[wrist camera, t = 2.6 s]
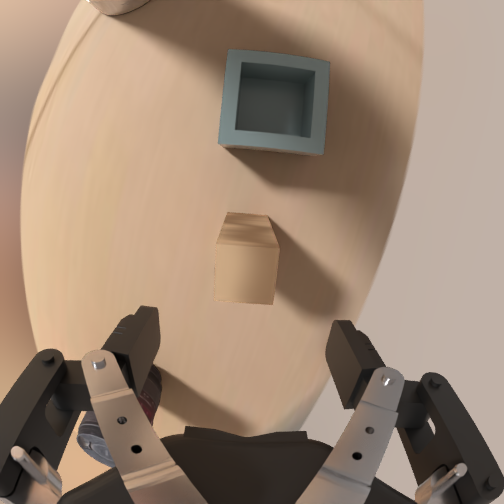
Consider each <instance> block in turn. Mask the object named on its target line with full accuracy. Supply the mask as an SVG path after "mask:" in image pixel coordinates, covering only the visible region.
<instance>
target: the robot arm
mask: <svg viewBox="0 0 504 504" xmlns="http://www.w3.org/2000/svg"><path fill="white" fill-rule="evenodd" d="M87 1H88V2H90V3H91V4H92V5H93V6H94V7H95V8H96V9H98V10H99V11H100V12H101V13H103V14H106V15H119V14H124V13H127V12H130V11H132V10H134V9H137V8H138V7H140V6H142V5H144V4H145V3H147V2H148V1H149V0H87ZM159 346H160V326H159V314H158V309H157V307H149V306H140V307H139V309H138V310H137V312H136V313H135V315H128V316H126V317H125V318H123V319H122V320H121V321H120V322H119V324H118V325H117V327H116V328H115V329H114V331H113V333H112V334H111V335H110V337H109V338H108V339H107V341H106V342H105V344H104V345H103V347H102V348H101V350H94V351H91V352H89V353H87V354H86V355H85V356H84V357H83V358H82V360H81V361H74V360H64V357H63V354H62V353H61V352H60V351H59V350H56V349H45V350H42V351H40V352H39V353H38V354H36V356H35V357H34V358H33V359H32V361H31V362H30V363H29V365H28V366H27V367H26V369H25V370H24V371H23V373H22V374H21V375H20V377H19V378H18V379H17V381H16V382H15V384H14V385H13V387H12V388H11V390H10V391H9V392H8V394H7V395H6V397H5V398H4V400H3V401H2V403H1V404H0V500H1V501H3V502H4V503H5V504H489V503H491V502H492V501H494V500H495V499H496V498H497V497H499V496H500V494H501V493H502V492H503V489H504V477H503V474H502V472H501V470H500V468H499V466H498V464H497V462H496V460H495V459H494V457H493V455H492V453H491V451H490V449H489V447H488V446H487V444H486V442H485V440H484V438H483V437H482V435H481V433H480V432H479V430H478V428H477V426H476V425H475V423H474V421H473V420H472V418H471V417H470V415H469V413H468V412H467V410H466V409H465V407H464V405H463V404H462V402H461V401H460V399H459V398H458V396H457V395H456V393H455V392H454V390H453V388H452V387H451V385H450V384H449V383H448V381H447V380H446V379H445V378H444V377H443V376H442V375H440V374H437V373H432V372H429V373H426V374H424V375H423V376H422V378H421V380H420V382H418V381H408V380H404V377H403V375H402V374H401V373H400V372H399V371H397V370H395V369H393V368H390V367H386V366H385V364H384V362H383V361H382V359H381V357H380V356H379V354H378V353H377V351H376V350H375V348H374V346H373V345H372V343H371V341H370V340H369V338H368V337H367V336H366V335H365V334H364V333H362V332H361V331H359V330H358V331H357V330H356V329H355V327H354V325H353V324H352V322H351V321H350V320H335V321H334V322H333V324H332V327H331V331H330V335H329V339H328V342H327V346H326V352H325V355H326V361H327V363H328V366H329V369H330V371H331V374H332V377H333V379H334V382H335V385H336V388H337V390H338V393H339V396H340V399H341V402H342V405H343V407H344V409H353V408H354V410H355V412H354V414H353V415H352V417H351V419H350V421H349V423H348V425H347V426H346V428H345V430H344V432H343V433H342V435H341V437H340V439H339V440H338V442H337V444H336V446H335V447H334V448H333V447H331V446H330V445H327V444H325V443H323V442H320V441H316V440H312V439H308V438H307V432H306V431H292V432H274V433H269V434H264V435H259V436H253V437H242V436H238V435H234V434H230V433H227V432H223V431H219V430H216V429H207V428H198V427H190V426H185V432H184V434H177V435H171V436H167V437H164V438H161V439H159V437H158V436H157V434H156V432H155V431H154V429H153V427H152V425H151V424H150V422H149V420H148V418H147V417H146V415H145V413H144V411H143V409H142V408H141V406H140V404H139V402H138V400H137V398H136V397H138V398H139V396H140V393H141V391H142V388H143V386H144V383H145V381H146V378H147V376H148V373H149V371H150V368H151V366H152V364H153V361H154V359H155V356H156V354H157V352H158V349H159ZM49 400H50V401H49ZM81 411H94V413H95V415H96V418H97V421H98V424H99V427H100V429H101V432H102V434H103V437H104V439H105V442H106V444H107V447H108V449H109V451H110V454H111V456H112V458H113V460H114V463H115V465H116V466H115V467H113V468H111V469H109V470H108V471H106V472H104V473H103V474H101V475H99V476H97V477H95V478H94V479H92V480H90V481H88V482H86V483H84V484H82V485H80V486H78V487H76V488H74V489H72V490H71V491H68V492H67V493H65V494H64V495H63V496H62V491H61V489H62V480H61V477H60V475H59V473H58V472H57V469H58V466H59V463H60V461H61V458H62V455H63V453H64V450H65V448H66V445H67V443H68V441H69V438H70V436H71V433H72V431H73V429H74V426H75V424H76V422H77V420H78V417H79V415H80V413H81ZM429 418H431V420H432V422H433V423H434V425H435V430H436V431H435V435H434V434H433V432H432V429H431V427H430V425H429V423H428V422H427V421H428V419H429ZM394 427H396V428H397V430H398V433H399V435H400V438H401V441H402V443H403V446H404V448H405V451H406V454H407V456H408V459H409V462H410V464H411V467H412V470H413V473H414V476H415V478H416V481H417V484H418V488H417V490H416V492H415V500H412V499H410V498H408V497H407V496H405V495H403V494H402V493H400V492H398V491H397V490H395V489H393V488H392V487H390V486H389V485H387V484H385V483H384V482H382V481H381V480H379V479H377V478H376V477H375V474H376V472H377V470H378V468H379V465H380V463H381V461H382V458H383V455H384V453H385V451H386V448H387V446H388V443H389V440H390V438H391V435H392V432H393V429H394Z"/></svg>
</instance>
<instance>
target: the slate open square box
mask: <svg viewBox="0 0 504 504" xmlns="http://www.w3.org/2000/svg"><path fill="white" fill-rule="evenodd" d="M329 73H330V62H328V61H324V60H319V59H314V58H308V57H302V56H296V55H289V54H282V53H274V52H264V51H253V50H237V49H228V54H227V62H226V70H225V79H224V87H223V97H222V106H221V116H220V127H219V138H218V144H219V145H220V146H222V147H223V148H238V149H251V150H263V151H273V152H282V153H290V154H298V155H306V156H314V155H324V146H325V134H326V122H327V109H328V93H329Z"/></svg>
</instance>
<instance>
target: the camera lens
mask: <svg viewBox="0 0 504 504" xmlns="http://www.w3.org/2000/svg"><path fill="white" fill-rule="evenodd" d="M161 391H162V386H161V375H160V373H159V371H158V370H157V368H156V367H155V366H154V365H152V366H151V368H150V371H149V373H148V376H147V378H146V381H145V383H144V386H143V388H142V391H141V393H140V396H139V398H138V397H136V398H137V400H138V402H139V404H140V406H141V408H142V409H143V411H144V413H145V415H146V417H147V418H148V420H149V422H150V424H151V425H152V426H153V419H154V416H155V413H156V411H157V408H158V405H159V402H160V397H161ZM77 442H78V444H79V445H80V447H81V448H82V449H83V450H84V451H85V452H86V453H87V454H88V455H90V456H91V457H93V458H94V459H95V460H97V461H99V462H101V463H103V464H105V465H107V466H109V467H112V468H113V467H115V466H116V465H115V463H114V460H113V458H112V456H111V454H110V451H109V449H108V447H107V444H106V442H105V439H104V437H103V434H102V432H101V429H100V427H99V424H98V421H97V418H96V415H95V413H94V411H87V412H86V414H85V416H84V418H83V420H82V422H81V424H80V426H79V431H78V435H77Z"/></svg>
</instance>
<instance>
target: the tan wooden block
mask: <svg viewBox="0 0 504 504" xmlns="http://www.w3.org/2000/svg"><path fill="white" fill-rule="evenodd" d="M279 254H280V247H279V244H278V242H277V239H276V237H275V234H274V231H273V229H272V226H271V224H270V221H269V218H268V216H267V215H256V214H244V213H230V212H227V215H226V218H225V221H224V223H223V226H222V229H221V232H220V234H219V237H218V240H217V243H216V256H215V280H214V301H223V302H236V303H251V304H267V305H273V300H274V293H275V285H276V277H277V270H278V262H279Z"/></svg>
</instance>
